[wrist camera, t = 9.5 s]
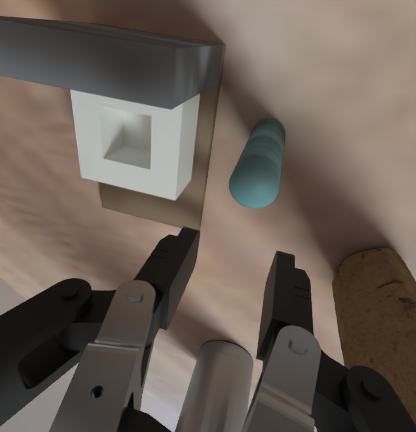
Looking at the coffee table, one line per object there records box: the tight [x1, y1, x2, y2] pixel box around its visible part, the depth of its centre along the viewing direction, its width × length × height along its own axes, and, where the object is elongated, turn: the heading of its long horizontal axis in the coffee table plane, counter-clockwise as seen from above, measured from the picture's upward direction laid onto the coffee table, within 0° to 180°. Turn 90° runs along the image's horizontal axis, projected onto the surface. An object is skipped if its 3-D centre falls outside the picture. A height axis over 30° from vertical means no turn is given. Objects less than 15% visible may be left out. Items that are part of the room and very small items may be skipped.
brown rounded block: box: [332, 247, 416, 424], centre depth 26 cm, size 11×8×20 cm
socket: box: [70, 90, 200, 201], centre depth 28 cm, size 10×10×5 cm
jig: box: [0, 16, 226, 230], centre depth 26 cm, size 20×13×13 cm, turn 172°
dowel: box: [229, 119, 285, 209], centre depth 23 cm, size 3×3×12 cm
